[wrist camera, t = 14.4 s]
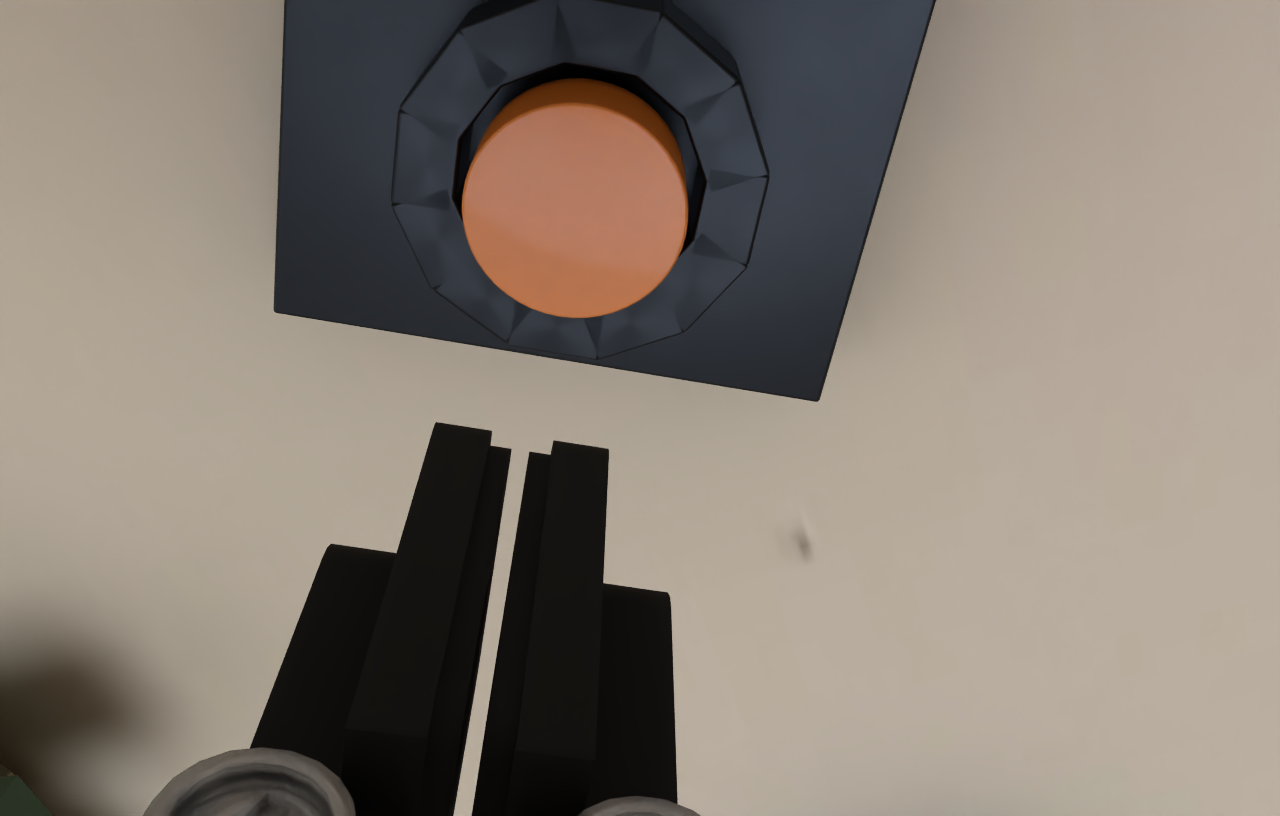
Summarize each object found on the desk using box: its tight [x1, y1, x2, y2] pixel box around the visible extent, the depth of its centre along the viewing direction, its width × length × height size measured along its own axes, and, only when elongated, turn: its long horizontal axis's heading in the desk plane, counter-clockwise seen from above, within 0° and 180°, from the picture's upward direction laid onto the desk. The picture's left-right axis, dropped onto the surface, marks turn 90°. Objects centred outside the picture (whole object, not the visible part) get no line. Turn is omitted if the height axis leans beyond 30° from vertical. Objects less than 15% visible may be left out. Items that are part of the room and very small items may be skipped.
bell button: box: [462, 78, 688, 318], centre depth 22 cm, size 4×4×2 cm
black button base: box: [274, 0, 936, 402], centre depth 24 cm, size 12×9×4 cm
